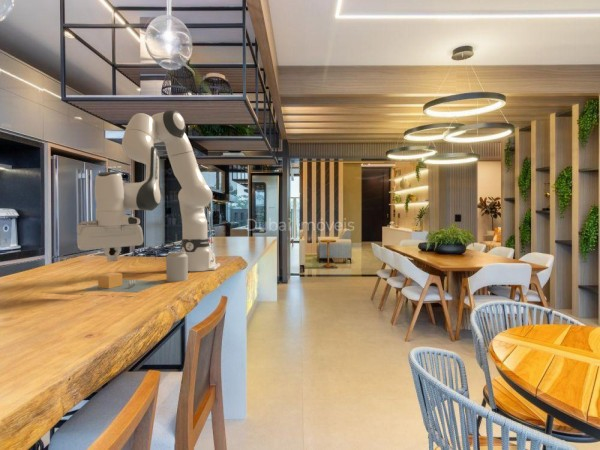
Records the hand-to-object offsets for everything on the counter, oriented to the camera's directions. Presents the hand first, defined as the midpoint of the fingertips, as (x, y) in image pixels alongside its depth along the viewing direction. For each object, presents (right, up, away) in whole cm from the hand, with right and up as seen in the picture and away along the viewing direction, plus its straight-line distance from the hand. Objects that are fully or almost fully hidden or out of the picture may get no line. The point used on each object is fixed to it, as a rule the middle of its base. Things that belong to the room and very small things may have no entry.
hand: (112, 261), depth 130 cm
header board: (+3, -10, +3) cm, 11 cm away
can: (+17, -10, +13) cm, 24 cm away
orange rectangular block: (-1, -9, 0) cm, 9 cm away
